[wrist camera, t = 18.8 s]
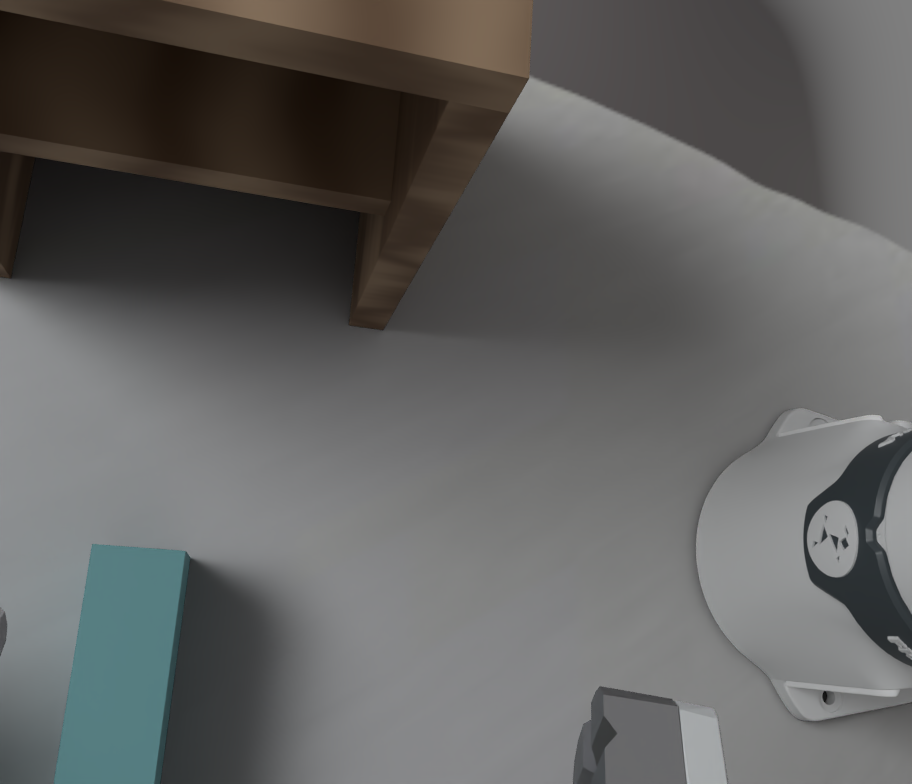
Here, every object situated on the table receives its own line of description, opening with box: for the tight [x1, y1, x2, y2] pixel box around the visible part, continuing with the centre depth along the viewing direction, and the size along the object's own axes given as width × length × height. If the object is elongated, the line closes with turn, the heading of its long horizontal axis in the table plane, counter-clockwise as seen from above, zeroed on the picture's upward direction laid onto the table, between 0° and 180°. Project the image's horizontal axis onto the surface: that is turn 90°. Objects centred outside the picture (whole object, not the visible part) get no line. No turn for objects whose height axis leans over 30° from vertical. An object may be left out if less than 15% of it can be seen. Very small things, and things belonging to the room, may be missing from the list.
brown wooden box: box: [0, 0, 533, 330], centre depth 38 cm, size 22×16×26 cm
